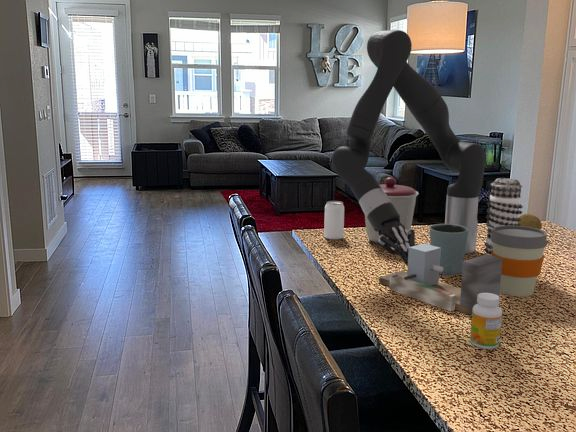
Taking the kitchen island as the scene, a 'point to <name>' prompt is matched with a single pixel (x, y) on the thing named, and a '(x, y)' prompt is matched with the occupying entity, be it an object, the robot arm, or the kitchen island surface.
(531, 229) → the reusable coffee cup
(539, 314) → the kitchen island surface
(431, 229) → the teal gray cup
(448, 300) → the track
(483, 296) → the supplement bottle
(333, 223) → the can
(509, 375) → the kitchen island surface
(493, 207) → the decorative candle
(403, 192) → the canister
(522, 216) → the potato
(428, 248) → the block
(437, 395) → the kitchen island surface
